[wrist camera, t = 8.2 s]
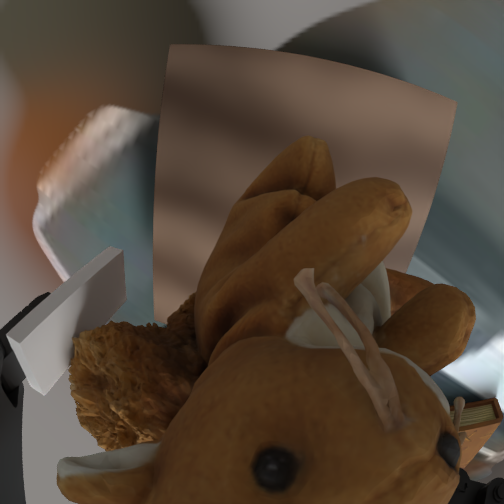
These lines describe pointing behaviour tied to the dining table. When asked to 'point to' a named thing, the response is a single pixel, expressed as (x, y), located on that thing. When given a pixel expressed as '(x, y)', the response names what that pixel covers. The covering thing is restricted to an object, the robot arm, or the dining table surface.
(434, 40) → the dining table surface
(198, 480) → the stuffed squirrel
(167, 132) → the walnut box
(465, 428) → the diary
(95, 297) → the robot arm
